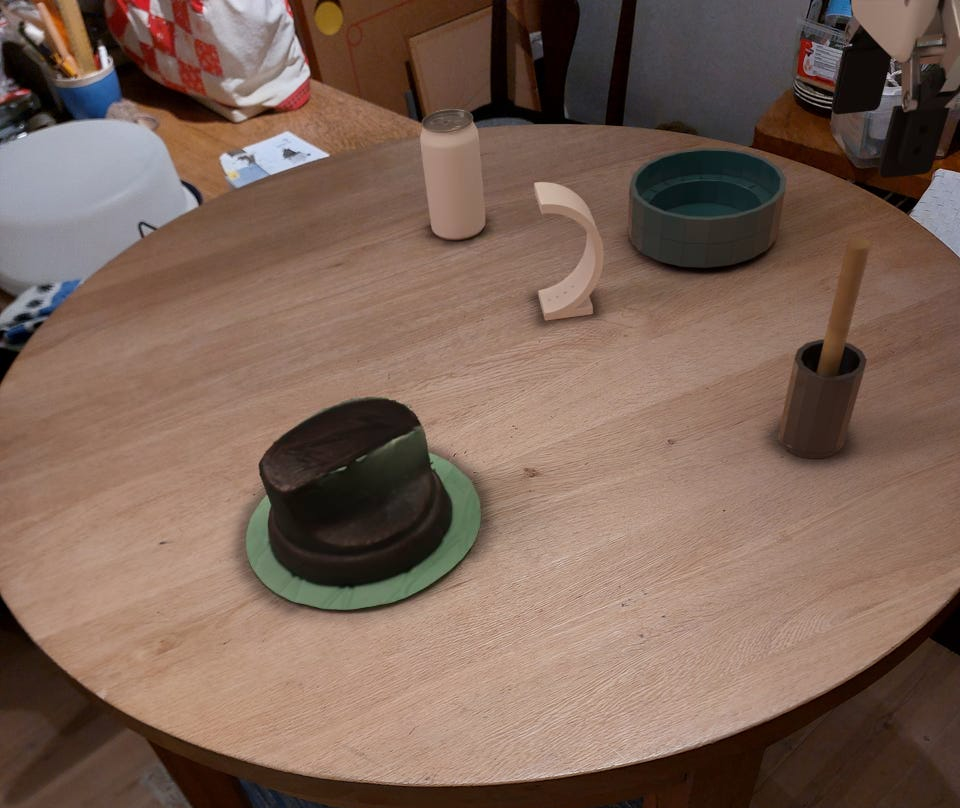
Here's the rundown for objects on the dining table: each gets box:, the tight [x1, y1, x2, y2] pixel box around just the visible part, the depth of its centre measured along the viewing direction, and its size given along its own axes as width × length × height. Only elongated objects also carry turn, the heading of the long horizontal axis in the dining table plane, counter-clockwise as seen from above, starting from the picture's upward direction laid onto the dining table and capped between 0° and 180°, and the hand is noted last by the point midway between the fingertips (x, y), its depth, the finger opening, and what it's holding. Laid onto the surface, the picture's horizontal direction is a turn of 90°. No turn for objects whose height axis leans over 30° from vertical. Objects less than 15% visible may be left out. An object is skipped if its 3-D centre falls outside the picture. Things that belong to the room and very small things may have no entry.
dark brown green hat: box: [245, 396, 482, 611], centre depth 74 cm, size 15×19×20 cm
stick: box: [817, 236, 872, 376], centre depth 71 cm, size 3×3×17 cm
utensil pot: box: [778, 339, 868, 460], centre depth 75 cm, size 5×6×8 cm
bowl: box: [627, 147, 788, 269], centre depth 98 cm, size 16×16×6 cm
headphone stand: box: [533, 181, 605, 322], centre depth 90 cm, size 5×6×12 cm
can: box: [419, 108, 486, 241], centre depth 102 cm, size 6×6×12 cm
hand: (877, 140), depth 59 cm, fingers open, 9 cm apart
